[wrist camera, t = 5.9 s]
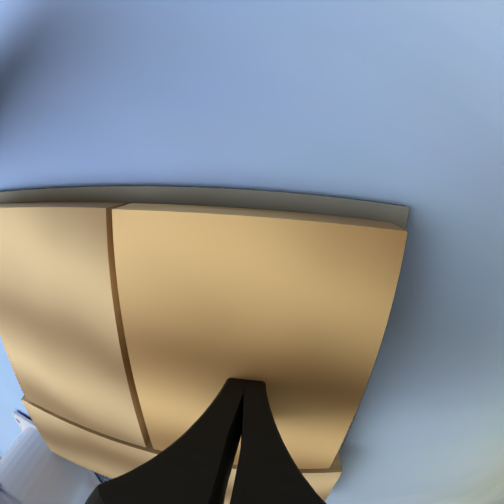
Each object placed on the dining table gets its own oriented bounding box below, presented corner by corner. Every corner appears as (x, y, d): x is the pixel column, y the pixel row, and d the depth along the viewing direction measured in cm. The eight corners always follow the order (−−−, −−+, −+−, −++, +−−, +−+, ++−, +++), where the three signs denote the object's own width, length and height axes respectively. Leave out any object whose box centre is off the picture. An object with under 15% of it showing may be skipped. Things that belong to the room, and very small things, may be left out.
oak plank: (327, 448, 13) (329, 468, 11) (161, 430, 13) (153, 448, 12) (391, 222, 9) (407, 231, 8) (131, 203, 10) (112, 209, 8)
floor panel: (316, 491, 15) (317, 511, 13) (61, 436, 16) (51, 451, 14) (404, 206, 10) (428, 213, 8) (-7, 192, 11) (-31, 197, 9)
